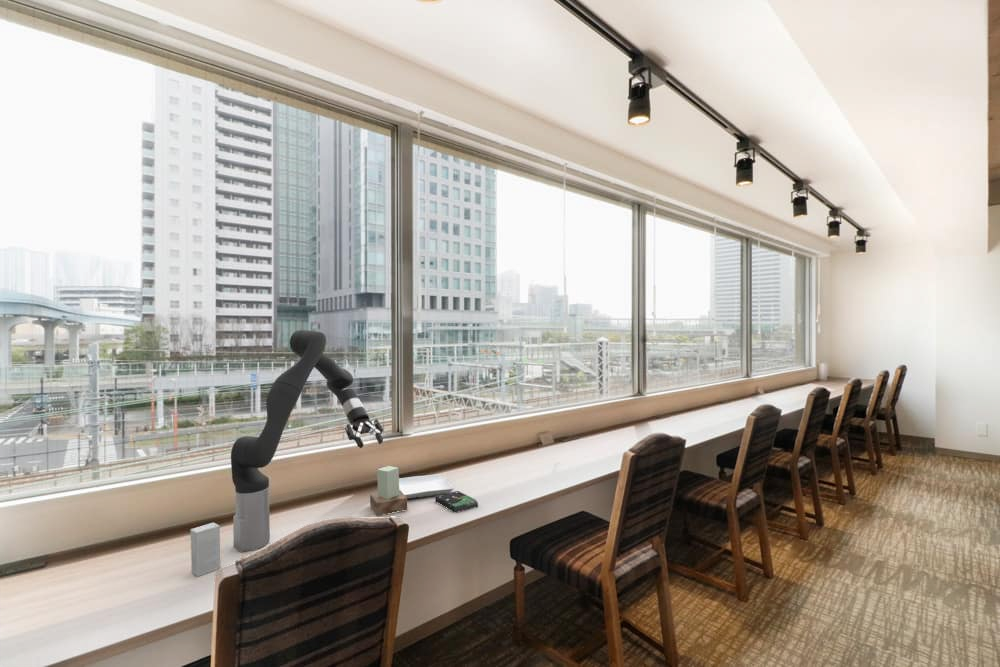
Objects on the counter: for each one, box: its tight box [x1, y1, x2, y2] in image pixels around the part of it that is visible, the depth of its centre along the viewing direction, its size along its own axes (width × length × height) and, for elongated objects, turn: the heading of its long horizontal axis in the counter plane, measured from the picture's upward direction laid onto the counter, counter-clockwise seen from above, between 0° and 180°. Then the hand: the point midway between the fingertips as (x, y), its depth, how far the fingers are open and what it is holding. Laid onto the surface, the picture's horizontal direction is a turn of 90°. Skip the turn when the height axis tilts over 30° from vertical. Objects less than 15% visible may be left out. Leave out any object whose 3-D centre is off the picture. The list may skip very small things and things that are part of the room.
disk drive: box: [434, 490, 479, 513], centre depth 178 cm, size 10×3×15 cm
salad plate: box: [399, 473, 454, 499], centre depth 194 cm, size 21×21×3 cm
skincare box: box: [190, 522, 222, 577], centre depth 130 cm, size 6×4×12 cm
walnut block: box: [369, 490, 408, 517], centre depth 174 cm, size 11×11×5 cm
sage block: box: [376, 465, 400, 499], centre depth 175 cm, size 6×6×10 cm
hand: (371, 444), depth 182 cm, fingers open, 8 cm apart
